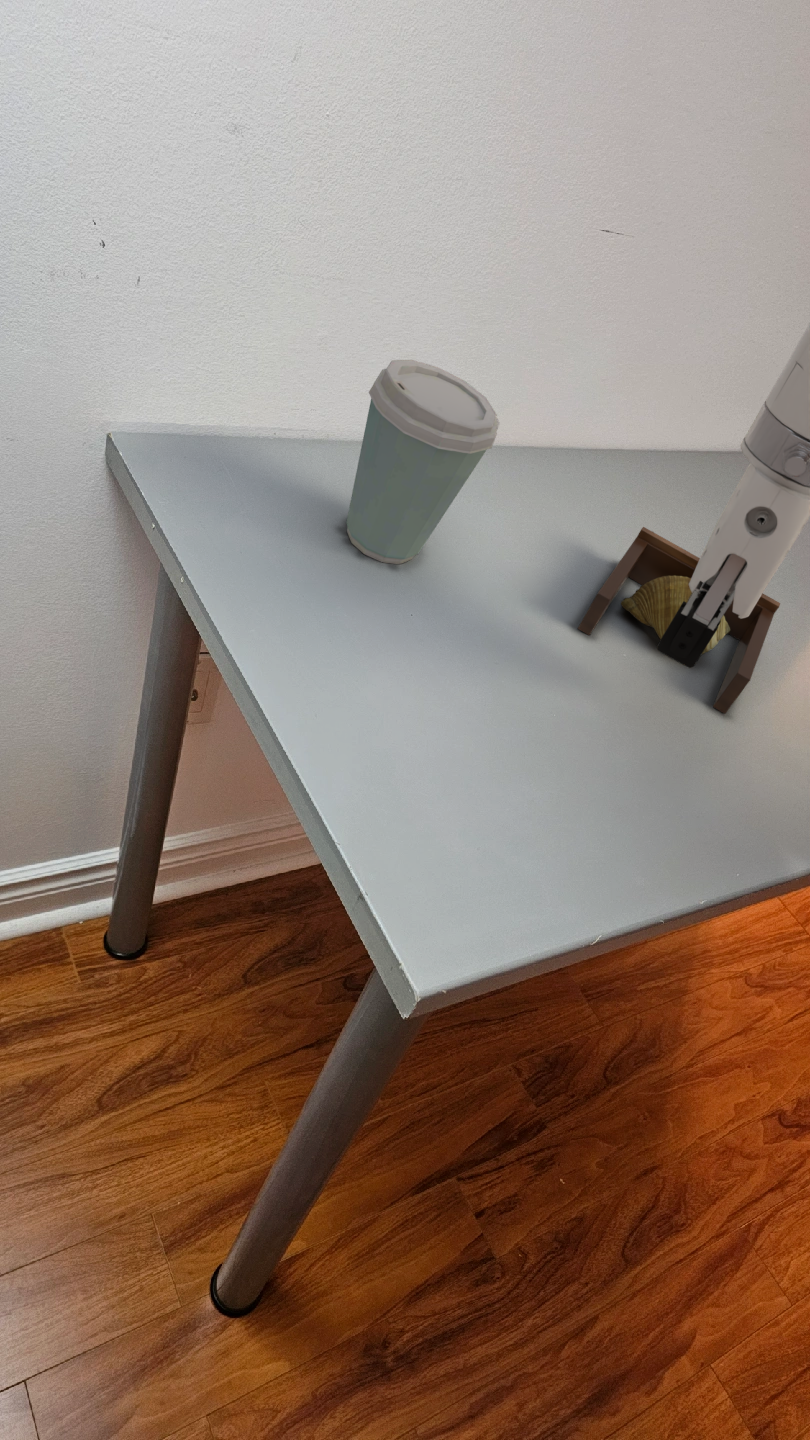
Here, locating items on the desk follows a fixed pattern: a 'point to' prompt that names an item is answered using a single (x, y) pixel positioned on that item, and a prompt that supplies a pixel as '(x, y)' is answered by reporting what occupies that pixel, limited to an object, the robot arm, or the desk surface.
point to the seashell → (665, 605)
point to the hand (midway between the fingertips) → (676, 654)
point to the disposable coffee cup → (415, 457)
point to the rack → (667, 559)
